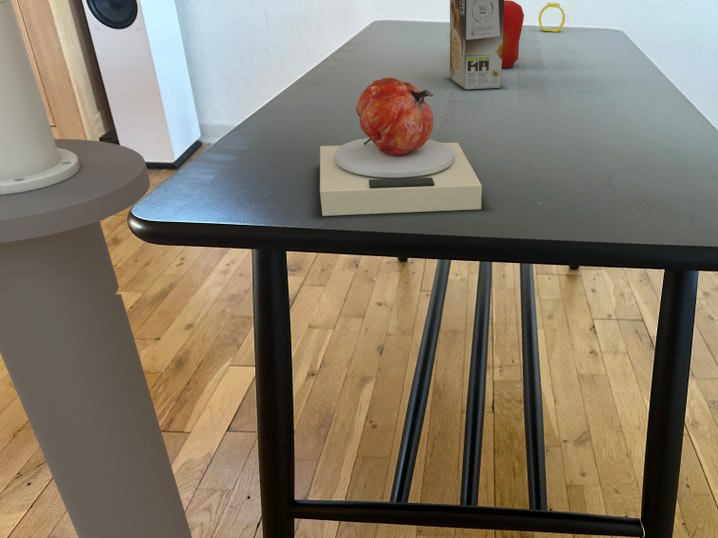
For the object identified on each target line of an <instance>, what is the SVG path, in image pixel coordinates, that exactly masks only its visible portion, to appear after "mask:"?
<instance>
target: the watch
mask: <svg viewBox="0 0 718 538" xmlns="http://www.w3.org/2000/svg"><path fill="white" fill-rule="evenodd" d="M548 8H557V9H558V10H560V11H561V14H562V21H561V23H560V25H559V26H558V27H557V28H555V29H551V28H545V26H543V23H542V16H543V14H544V12H545V10H546V9H548ZM565 22H566V14H565V12H564V9H563V8H562V7H561V6H560V3H559V2H547V4H546V5H545V6H543V7H542V9H541V10H540V12H539V15H538V23H539V26H540V27H541V29H542V30H543V31H544V32H553V33H558V32H559V31H560V30H562V28H563V26H564V25H565Z"/></svg>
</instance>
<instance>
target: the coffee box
mask: <svg viewBox="0 0 718 538" xmlns="http://www.w3.org/2000/svg"><path fill="white" fill-rule="evenodd" d="M504 1H505V0H449V79H450V80H452V81H453V82H454V83H456V84H457V85H459V86H460V87H462V88H463V89H465V90H482V89H500V88H501V87H502V72H503V71H502V70H503V68H502V47H503V23H504Z"/></svg>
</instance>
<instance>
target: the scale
mask: <svg viewBox="0 0 718 538" xmlns="http://www.w3.org/2000/svg"><path fill="white" fill-rule="evenodd" d="M368 139H369V137H365V138H359V139H355V140H351V141H349V142H346V143H343V144H342V145H320V146H319V195H320V206H321V213H322V216H323V217H331V216H332V217H333V216H353V215H354V216H355V215H358V216H359V215H379V214H403V213H405V214H406V213H423V212H447V211H449V212H450V211H470V210H475V211H476V210H482V199H483V198H482V194H483V185H482V183H481V181H480V180H479V178H478V176H477V174H476V173H475V171H474V169H473V167H472V165H471V163H470V162H469V160H468V158H467V156H466V154H465V152H464V151H463V149H462V148H461V147H462V146H461V145H460V143H459V142H440V141H437V140H433V139H430V138H429V139H428V140H427V141H426V143H425V144H424V145H423V146H422V147H420V148H418V149H416V150H412V151H409V152H408V153H406V154H404V155H401V156H393V155H388V154H385V153H383V152H381V151H379V149H378V147H377V146H376V145H375V144H374V143H373V142H372V140H371V141H369V142H368V143H367V144H366V145H364V142H366V141H367V140H368Z"/></svg>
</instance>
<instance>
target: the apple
mask: <svg viewBox="0 0 718 538" xmlns="http://www.w3.org/2000/svg"><path fill="white" fill-rule="evenodd" d="M524 18H525V14H524V11H523V7H522V5H520V4H519V3H517V2H516V1H513V0H504V23H503V47H502V69H509V68H512V67H513V66H514V65H515V63H516V62H517V61H518V60H519V54H520V53H519V51H520V40H521V35H522V30H523V25H524Z"/></svg>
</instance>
